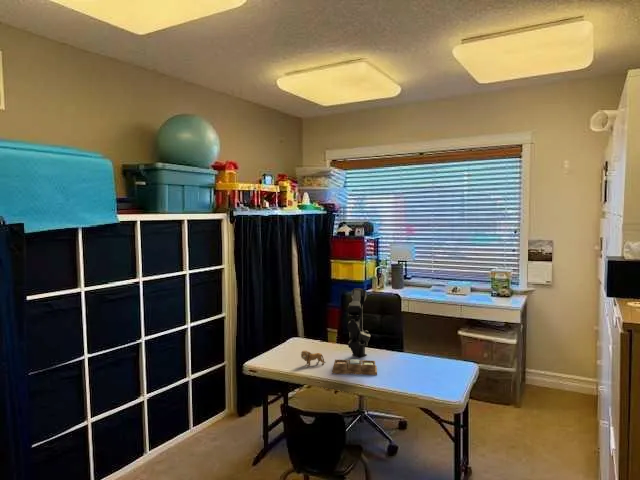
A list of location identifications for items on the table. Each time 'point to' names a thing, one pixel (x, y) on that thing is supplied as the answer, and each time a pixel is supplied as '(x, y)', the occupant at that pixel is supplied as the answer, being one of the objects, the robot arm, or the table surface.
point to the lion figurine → (312, 357)
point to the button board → (355, 368)
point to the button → (354, 361)
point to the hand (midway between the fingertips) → (354, 355)
